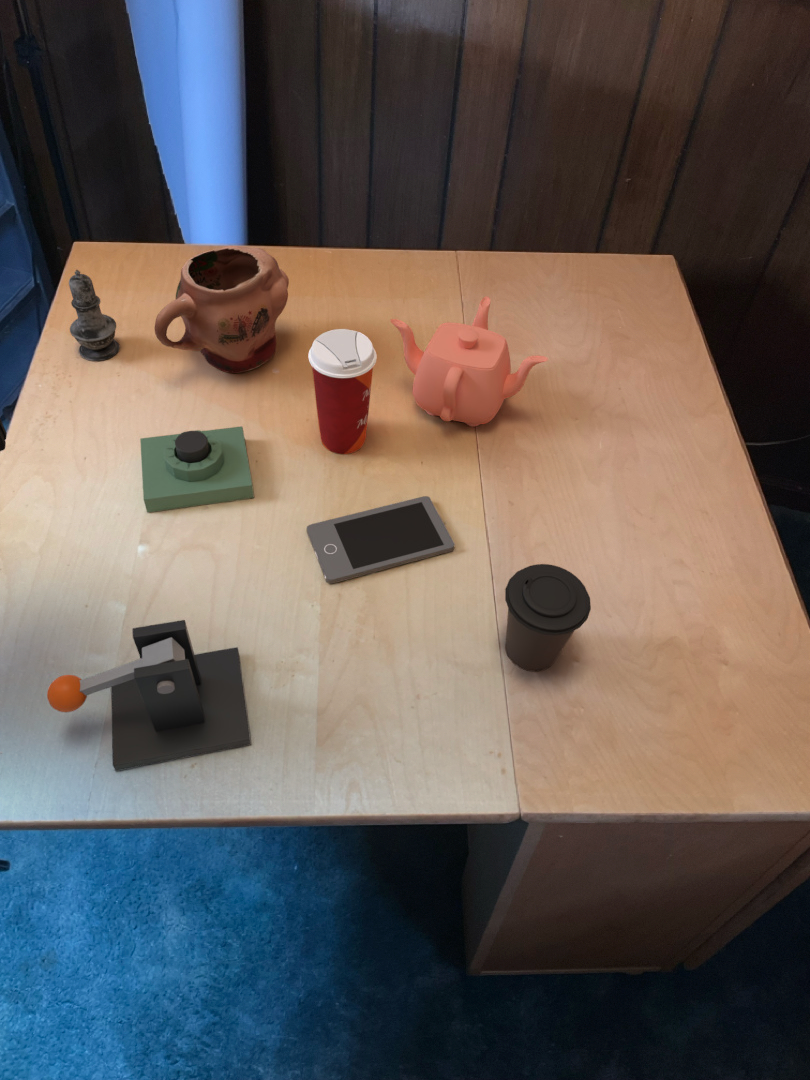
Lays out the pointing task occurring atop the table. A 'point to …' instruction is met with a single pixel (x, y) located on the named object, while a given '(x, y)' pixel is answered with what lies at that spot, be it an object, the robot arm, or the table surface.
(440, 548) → the smartphone
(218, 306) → the decorative planter
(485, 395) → the teapot
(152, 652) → the switch lever
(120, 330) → the table surface
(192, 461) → the button
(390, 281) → the table surface
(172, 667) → the lever base
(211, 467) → the control block
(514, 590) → the coffee cup
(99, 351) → the salt shaker
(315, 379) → the paper cup
